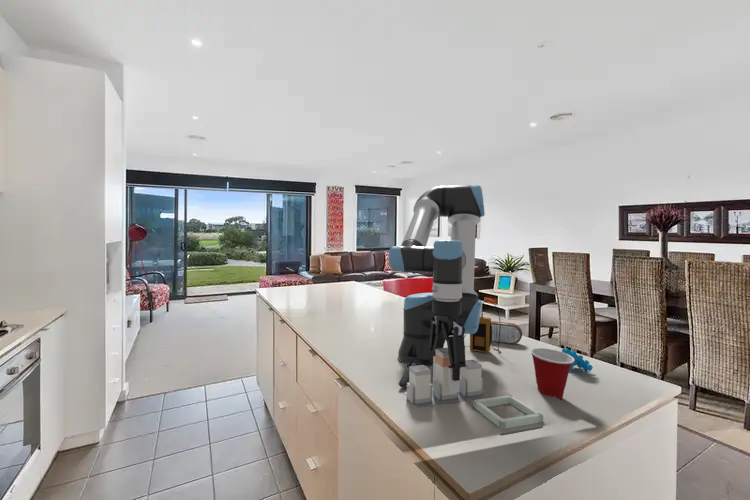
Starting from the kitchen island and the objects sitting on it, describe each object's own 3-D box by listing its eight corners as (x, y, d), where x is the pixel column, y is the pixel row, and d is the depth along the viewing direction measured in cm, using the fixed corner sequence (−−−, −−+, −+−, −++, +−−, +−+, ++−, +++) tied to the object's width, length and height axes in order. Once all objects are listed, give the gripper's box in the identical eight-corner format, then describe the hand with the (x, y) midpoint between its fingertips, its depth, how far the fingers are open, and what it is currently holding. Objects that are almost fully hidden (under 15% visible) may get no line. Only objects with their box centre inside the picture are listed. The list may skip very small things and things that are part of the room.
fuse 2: (434, 393, 96) (435, 348, 96) (448, 391, 97) (449, 347, 97) (442, 399, 92) (443, 353, 92) (456, 397, 93) (457, 352, 93)
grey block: (408, 396, 94) (409, 366, 93) (423, 394, 95) (423, 364, 95) (415, 403, 90) (415, 371, 90) (430, 401, 91) (430, 370, 91)
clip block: (402, 399, 95) (403, 379, 95) (471, 390, 102) (471, 371, 102) (415, 413, 88) (415, 391, 88) (488, 402, 94) (488, 381, 94)
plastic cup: (572, 410, 91) (573, 362, 90) (526, 399, 96) (527, 355, 96) (575, 394, 100) (576, 351, 99) (532, 385, 105) (533, 345, 105)
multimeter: (504, 348, 142) (505, 298, 141) (498, 355, 133) (499, 301, 133) (468, 342, 150) (469, 294, 149) (460, 348, 141) (460, 298, 141)
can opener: (410, 373, 115) (410, 355, 115) (431, 377, 112) (431, 359, 112) (387, 394, 99) (388, 373, 99) (411, 399, 96) (412, 378, 96)
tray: (473, 412, 89) (473, 400, 89) (510, 406, 92) (510, 394, 92) (501, 435, 78) (502, 422, 78) (542, 428, 82) (543, 414, 82)
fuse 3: (459, 390, 98) (459, 361, 98) (472, 388, 100) (473, 359, 99) (467, 396, 94) (468, 366, 94) (481, 394, 96) (481, 364, 95)
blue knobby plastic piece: (600, 371, 114) (579, 349, 113) (589, 385, 112) (568, 363, 112) (575, 364, 124) (555, 343, 124) (565, 377, 123) (545, 356, 123)
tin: (522, 344, 149) (522, 323, 148) (521, 346, 146) (522, 325, 146) (484, 339, 155) (484, 319, 155) (483, 341, 152) (483, 321, 152)
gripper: (417, 293, 103) (416, 373, 103) (454, 306, 83) (453, 404, 84) (440, 292, 105) (439, 370, 105) (482, 305, 85) (480, 400, 86)
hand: (445, 385), depth 95 cm, fingers open, 8 cm apart
